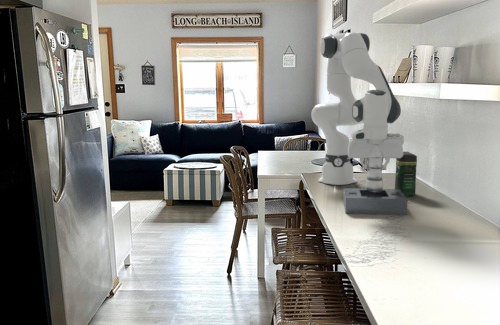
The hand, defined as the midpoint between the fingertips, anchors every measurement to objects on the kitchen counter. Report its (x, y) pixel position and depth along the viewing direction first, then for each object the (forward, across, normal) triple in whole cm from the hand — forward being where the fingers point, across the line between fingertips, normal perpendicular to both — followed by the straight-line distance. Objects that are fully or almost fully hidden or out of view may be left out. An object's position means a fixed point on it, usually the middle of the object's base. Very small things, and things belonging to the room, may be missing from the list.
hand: (374, 169), depth 162 cm
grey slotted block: (+15, 0, 0) cm, 15 cm away
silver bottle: (+9, 0, 0) cm, 9 cm away
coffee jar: (+15, -16, -23) cm, 32 cm away
